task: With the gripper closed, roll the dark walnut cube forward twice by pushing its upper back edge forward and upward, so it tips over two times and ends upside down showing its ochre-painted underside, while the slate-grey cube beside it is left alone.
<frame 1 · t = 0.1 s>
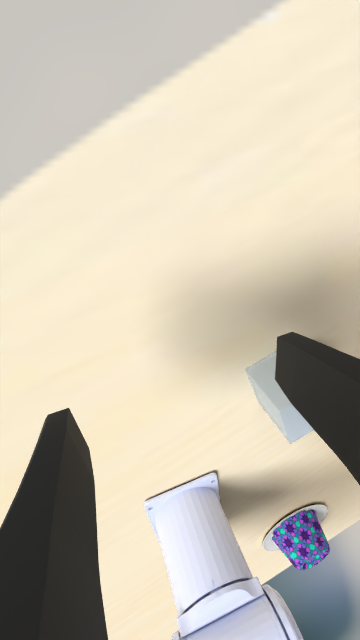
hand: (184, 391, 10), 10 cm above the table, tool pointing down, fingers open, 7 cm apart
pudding: (291, 522, 49), on the table
slate-grey cube: (275, 371, 28), on the table
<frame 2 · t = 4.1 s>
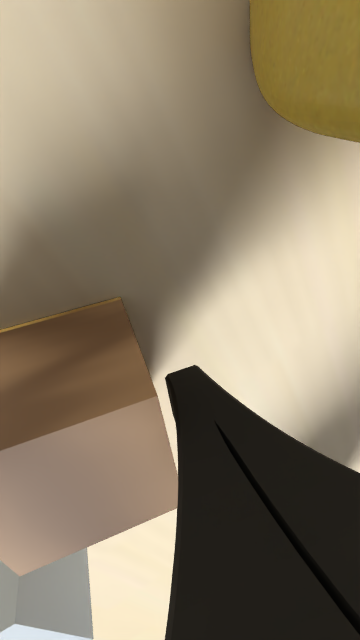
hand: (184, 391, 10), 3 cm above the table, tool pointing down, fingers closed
walnut cube: (73, 369, 12), on the table, touching gripper
slate-grey cube: (15, 531, 16), on the table
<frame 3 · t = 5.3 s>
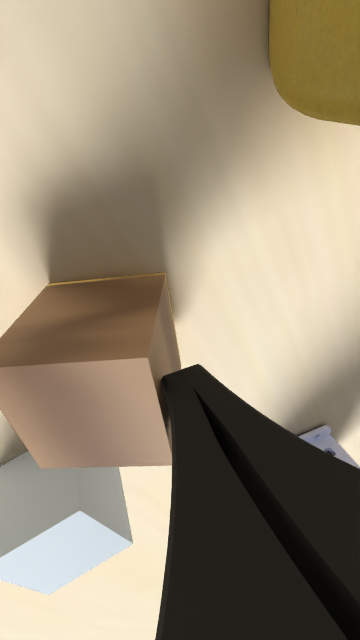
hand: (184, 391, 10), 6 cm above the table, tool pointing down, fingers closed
walnut cube: (120, 327, 14), point 1 cm above the table, tilted 22°, touching gripper
slate-grey cube: (61, 464, 18), on the table
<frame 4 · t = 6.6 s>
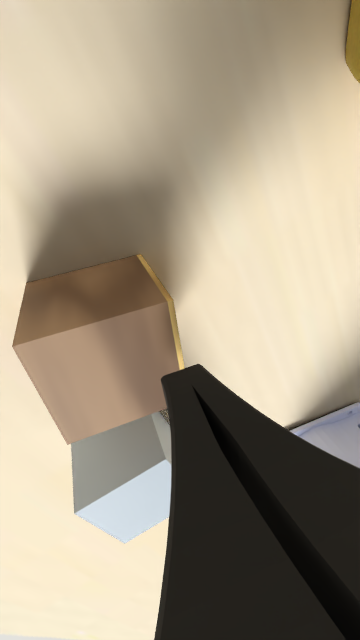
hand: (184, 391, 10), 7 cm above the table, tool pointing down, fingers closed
walnut cube: (164, 323, 14), point 2 cm above the table, tilted 90°
slate-grey cube: (126, 430, 20), on the table
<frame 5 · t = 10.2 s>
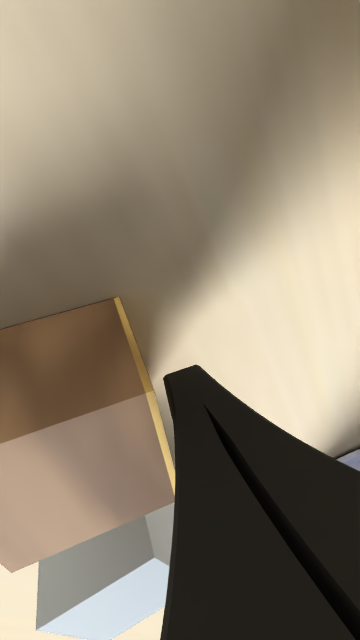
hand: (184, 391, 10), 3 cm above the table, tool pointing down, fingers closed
walnut cube: (148, 391, 10), point 3 cm above the table, tilted 90°, touching gripper
slate-grey cube: (110, 491, 17), on the table
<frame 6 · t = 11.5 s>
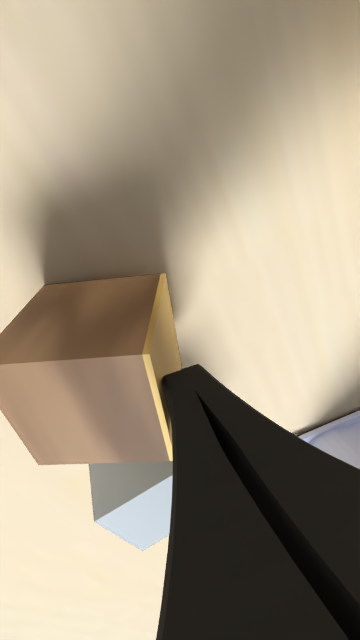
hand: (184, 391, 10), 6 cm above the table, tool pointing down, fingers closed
walnut cube: (170, 361, 11), point 4 cm above the table, tilted 112°, touching gripper
slate-grey cube: (141, 434, 20), on the table
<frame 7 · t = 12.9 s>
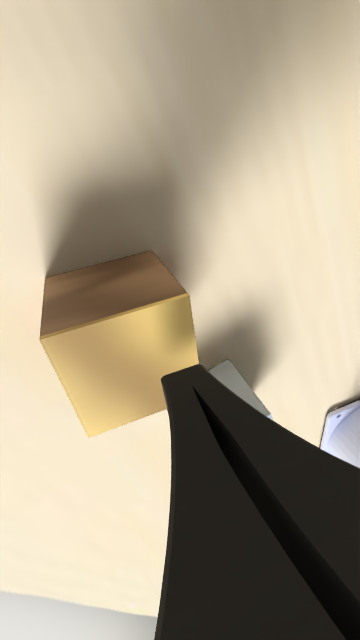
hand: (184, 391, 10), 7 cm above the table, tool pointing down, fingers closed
walnut cube: (135, 372, 11), point 5 cm above the table, tilted 180°
slate-grey cube: (207, 398, 21), on the table
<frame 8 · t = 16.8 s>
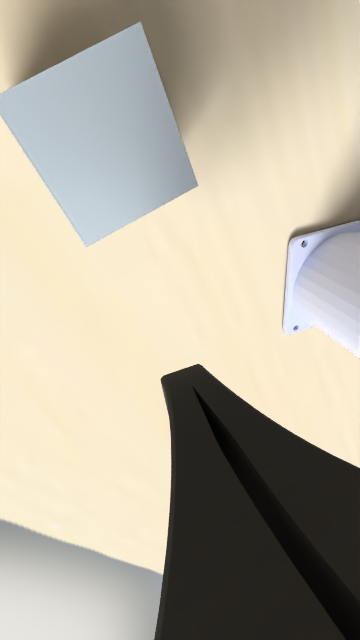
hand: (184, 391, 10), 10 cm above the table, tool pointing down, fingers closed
slate-grey cube: (95, 145, 14), on the table
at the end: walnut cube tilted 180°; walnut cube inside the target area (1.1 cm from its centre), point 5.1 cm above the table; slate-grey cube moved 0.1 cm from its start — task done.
